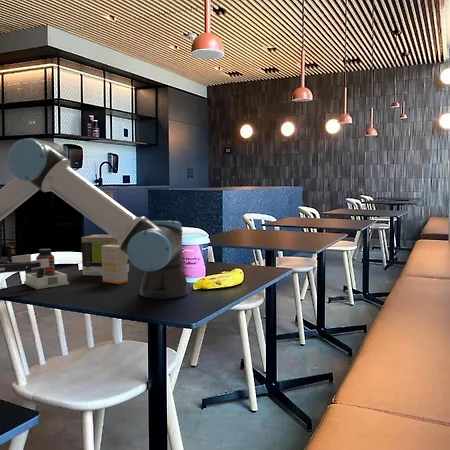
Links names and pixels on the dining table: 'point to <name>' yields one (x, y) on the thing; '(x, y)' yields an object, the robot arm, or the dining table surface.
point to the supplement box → (114, 264)
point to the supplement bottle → (51, 269)
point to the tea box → (95, 253)
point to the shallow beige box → (46, 280)
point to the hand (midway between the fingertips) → (39, 260)
